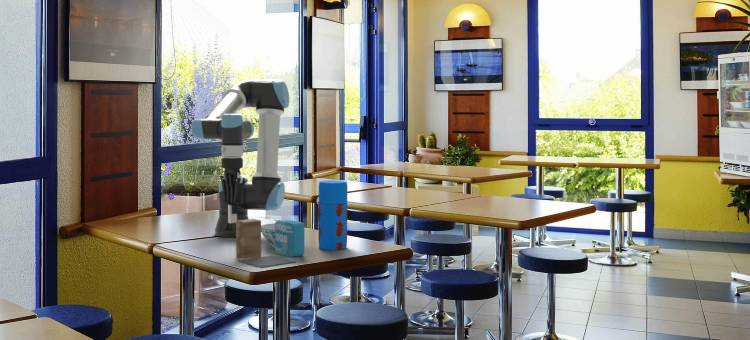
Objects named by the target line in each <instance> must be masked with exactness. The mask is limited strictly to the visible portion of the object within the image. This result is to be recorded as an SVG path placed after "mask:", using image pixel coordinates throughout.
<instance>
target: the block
mask: <svg viewBox="0 0 750 340" xmlns="http://www.w3.org/2000/svg"><path fill="white" fill-rule="evenodd" d="M261 226H262V220H260V219H255V218H249V219H247V220H238V221H236V237H235V242H236V243H235V245H236V247H235V248H236V249H235V251H236V252H235V255H236V256H235V258H236V257H237V259H240V258H241V259H240V260H243V259H250V258H257V257H262V232H261Z"/></svg>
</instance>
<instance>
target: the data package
mask: <svg viewBox="0 0 750 340" xmlns="http://www.w3.org/2000/svg"><path fill="white" fill-rule="evenodd" d="M274 223H275V248H274V251H275V253H276V254H278V255H283V256H286V257H287V256H288V257H290V258H294V257H295V258H296V257H303V256H304V255H305V249H306V248H305V240H306V239H305V232H306V231H305V229H306V228H305V224H304V223H303V222H301V221H298V220H297V221H296V220H291V219H281V220H280V219H278V220H276V221H275V222H274Z"/></svg>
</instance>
